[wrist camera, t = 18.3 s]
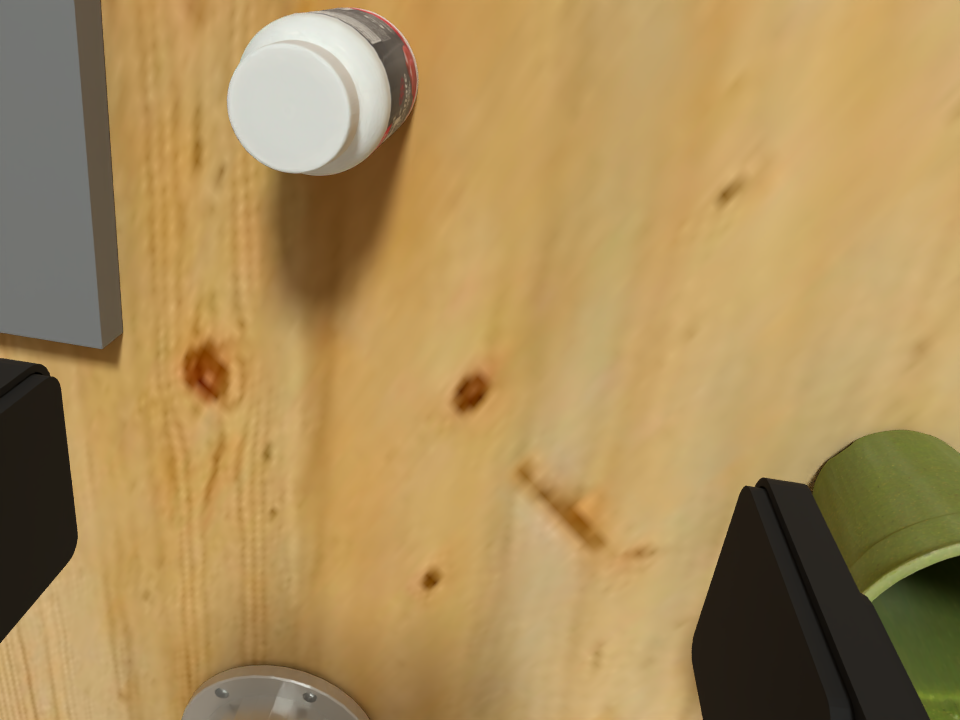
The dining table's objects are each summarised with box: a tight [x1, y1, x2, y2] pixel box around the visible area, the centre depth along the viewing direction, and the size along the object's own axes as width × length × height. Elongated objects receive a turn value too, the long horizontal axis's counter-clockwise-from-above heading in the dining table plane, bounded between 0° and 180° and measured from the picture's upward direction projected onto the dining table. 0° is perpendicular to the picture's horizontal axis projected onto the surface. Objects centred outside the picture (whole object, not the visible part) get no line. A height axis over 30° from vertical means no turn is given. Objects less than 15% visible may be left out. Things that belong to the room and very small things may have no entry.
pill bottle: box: [227, 8, 418, 176], centre depth 29 cm, size 5×5×10 cm
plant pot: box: [812, 430, 960, 720], centre depth 35 cm, size 12×12×11 cm
